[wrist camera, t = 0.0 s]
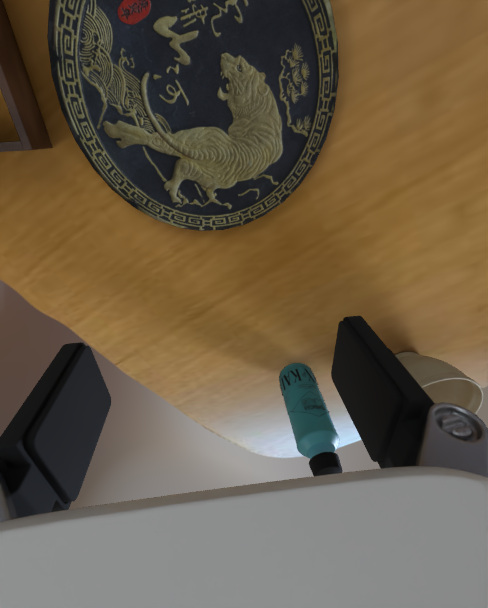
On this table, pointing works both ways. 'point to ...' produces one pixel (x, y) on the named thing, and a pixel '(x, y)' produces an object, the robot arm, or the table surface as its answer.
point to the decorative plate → (197, 100)
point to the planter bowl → (443, 381)
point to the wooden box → (19, 94)
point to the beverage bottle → (310, 419)
